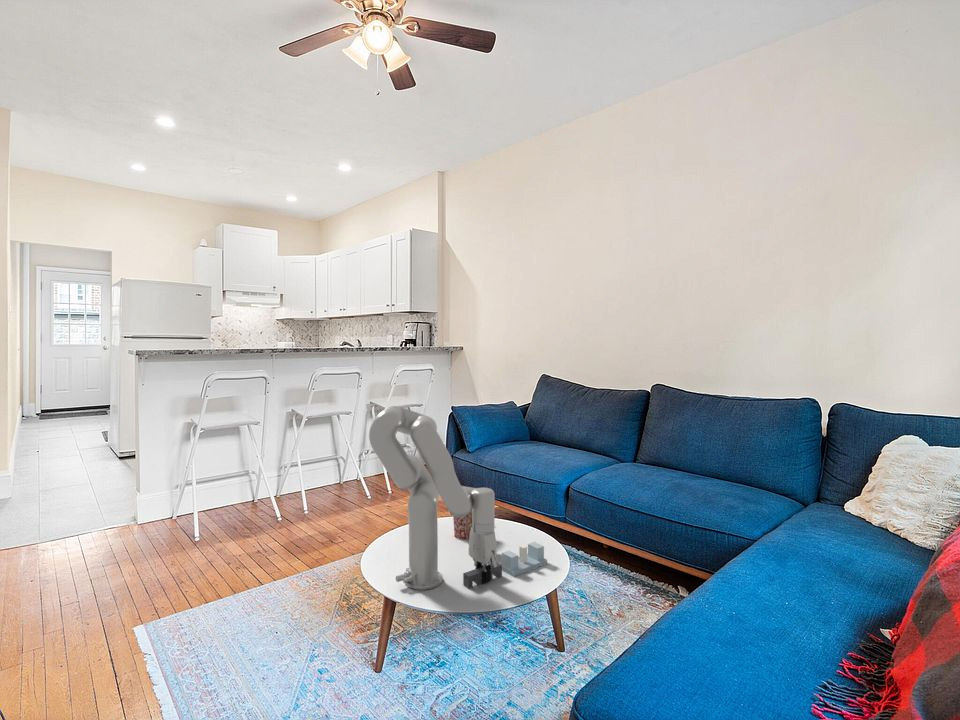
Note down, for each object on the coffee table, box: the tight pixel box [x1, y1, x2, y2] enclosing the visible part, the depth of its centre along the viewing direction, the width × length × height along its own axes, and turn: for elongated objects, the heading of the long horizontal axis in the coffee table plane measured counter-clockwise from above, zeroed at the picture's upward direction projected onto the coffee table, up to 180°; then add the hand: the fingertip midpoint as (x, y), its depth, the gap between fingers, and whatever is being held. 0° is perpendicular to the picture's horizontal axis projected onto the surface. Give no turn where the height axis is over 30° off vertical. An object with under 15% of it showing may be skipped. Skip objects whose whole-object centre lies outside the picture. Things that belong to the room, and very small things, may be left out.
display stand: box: [499, 541, 548, 577], centre depth 178 cm, size 16×8×7 cm, turn 127°
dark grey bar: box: [462, 561, 503, 590], centre depth 167 cm, size 14×3×4 cm, turn 127°
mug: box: [452, 509, 472, 540], centre depth 205 cm, size 13×9×14 cm
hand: (482, 579), depth 167 cm, fingers closed on dark grey bar, 3 cm apart
